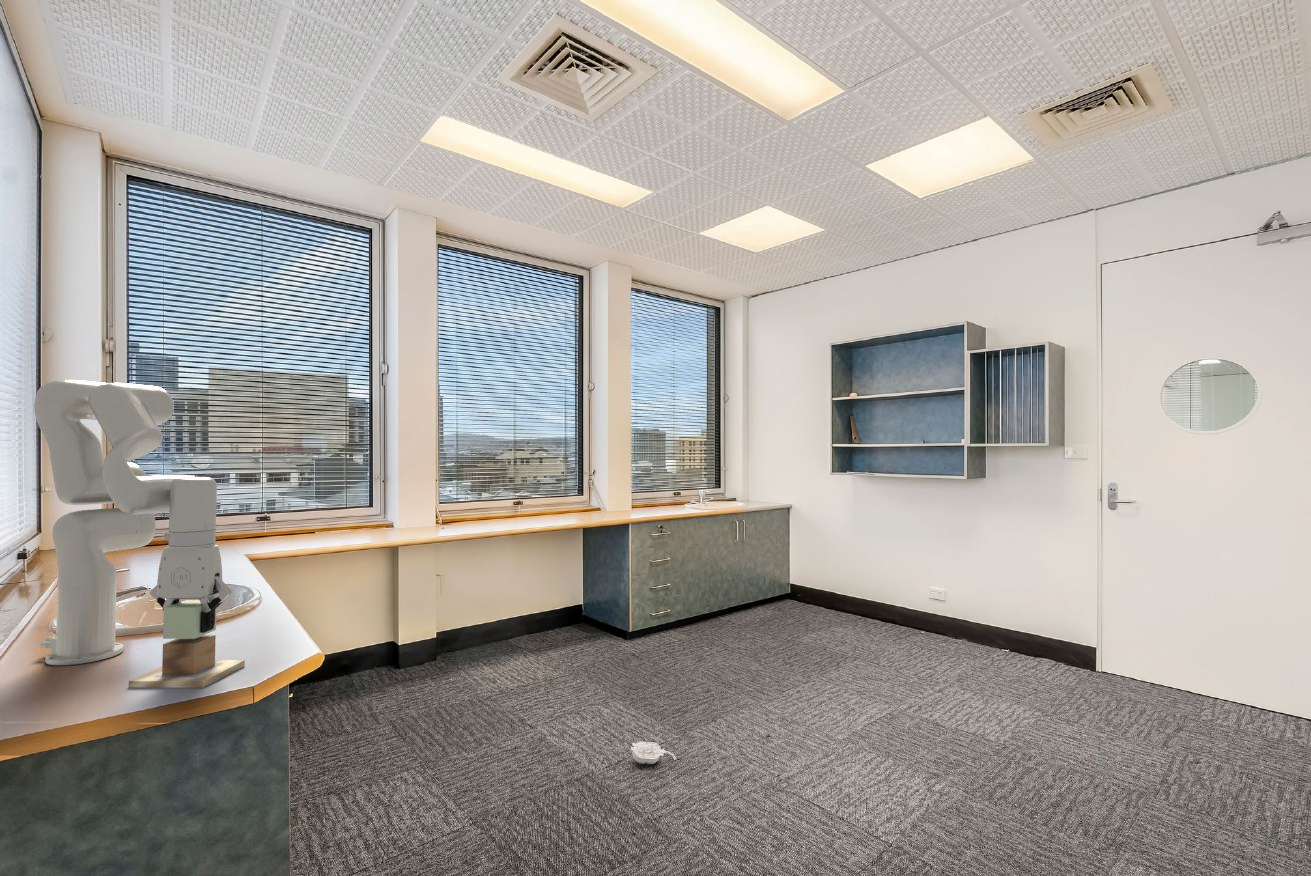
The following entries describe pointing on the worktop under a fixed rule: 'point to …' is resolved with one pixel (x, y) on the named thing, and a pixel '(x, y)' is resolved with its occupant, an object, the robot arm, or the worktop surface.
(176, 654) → the walnut cube
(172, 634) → the sage cube
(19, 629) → the worktop surface
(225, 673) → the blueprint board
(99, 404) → the robot arm
